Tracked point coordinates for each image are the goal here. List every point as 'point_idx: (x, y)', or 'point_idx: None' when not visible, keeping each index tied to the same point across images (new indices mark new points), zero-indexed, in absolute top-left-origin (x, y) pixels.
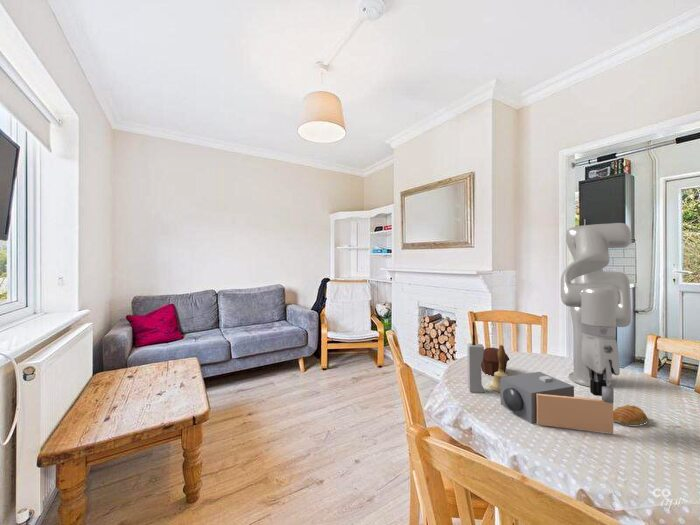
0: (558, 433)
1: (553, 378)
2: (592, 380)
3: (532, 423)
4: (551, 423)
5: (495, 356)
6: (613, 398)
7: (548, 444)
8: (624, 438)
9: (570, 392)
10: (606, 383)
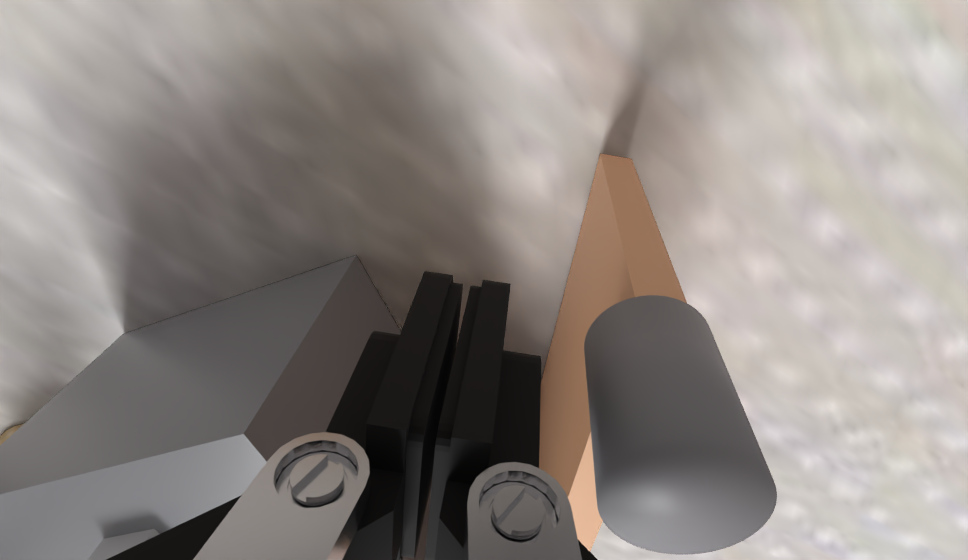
0: None
1: (78, 494)
2: (402, 555)
3: None
4: None
5: None
6: (718, 353)
7: None
8: (676, 94)
9: (302, 421)
10: (492, 423)
